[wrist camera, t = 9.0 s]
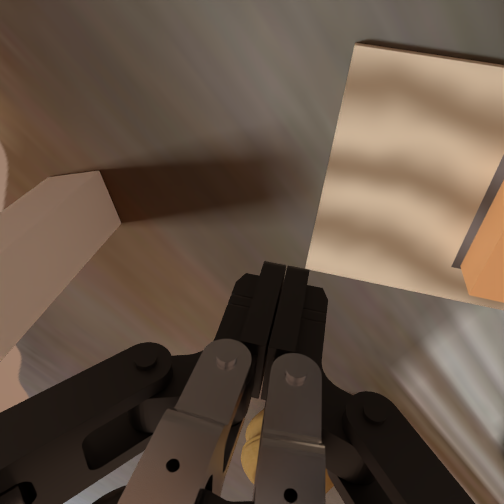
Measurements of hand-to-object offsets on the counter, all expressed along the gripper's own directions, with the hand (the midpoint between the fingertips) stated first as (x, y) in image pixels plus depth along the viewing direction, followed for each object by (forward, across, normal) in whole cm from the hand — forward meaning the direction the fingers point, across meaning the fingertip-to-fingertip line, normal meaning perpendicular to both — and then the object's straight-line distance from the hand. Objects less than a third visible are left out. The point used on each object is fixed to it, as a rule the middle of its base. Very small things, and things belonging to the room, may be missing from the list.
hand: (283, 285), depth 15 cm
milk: (+24, +22, +14) cm, 36 cm away
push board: (+24, -14, +7) cm, 29 cm away
